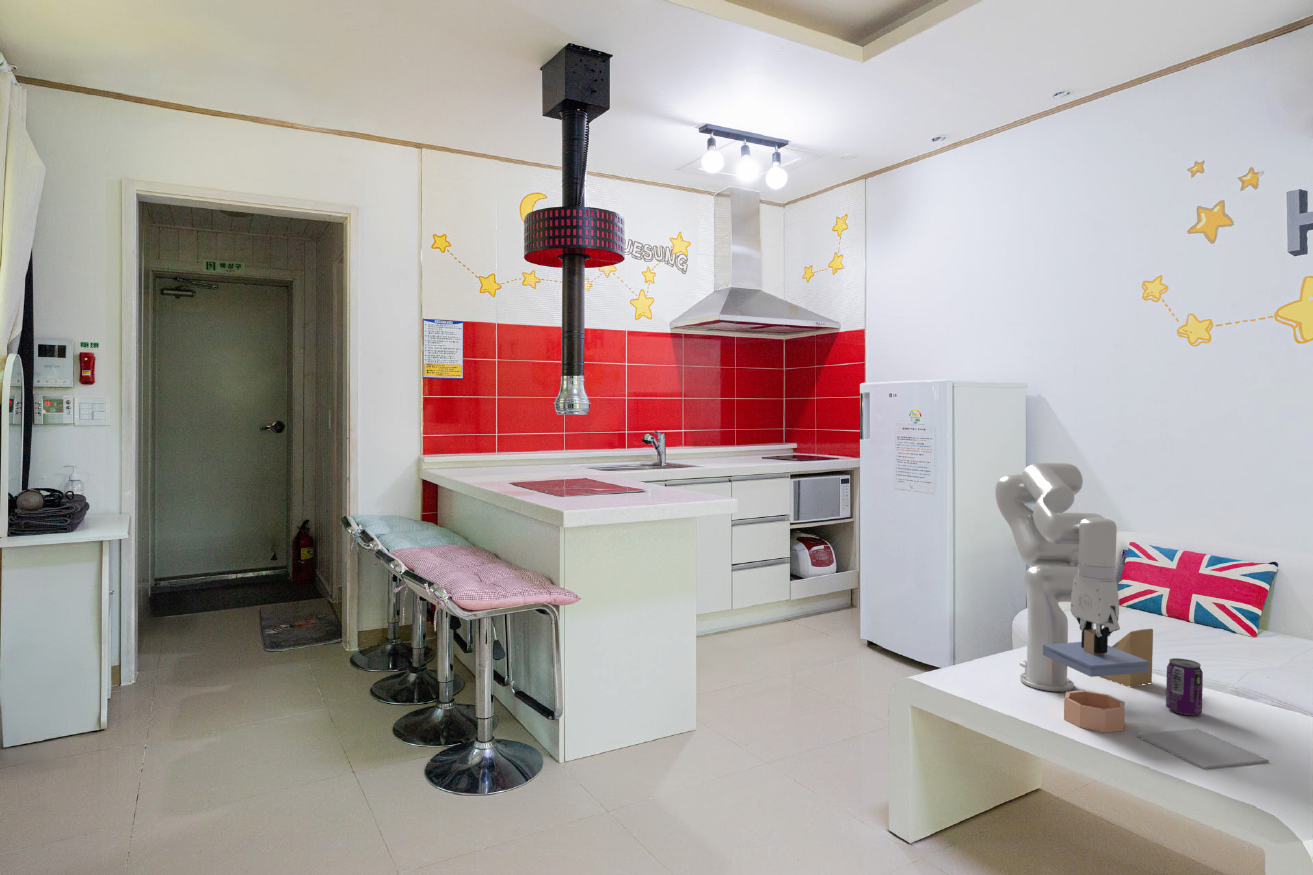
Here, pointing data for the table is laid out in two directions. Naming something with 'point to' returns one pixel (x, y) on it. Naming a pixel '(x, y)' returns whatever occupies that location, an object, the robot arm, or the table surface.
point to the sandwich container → (1140, 647)
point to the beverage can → (1184, 686)
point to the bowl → (1094, 711)
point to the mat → (1202, 748)
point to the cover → (1095, 658)
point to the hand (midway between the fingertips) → (1094, 649)
